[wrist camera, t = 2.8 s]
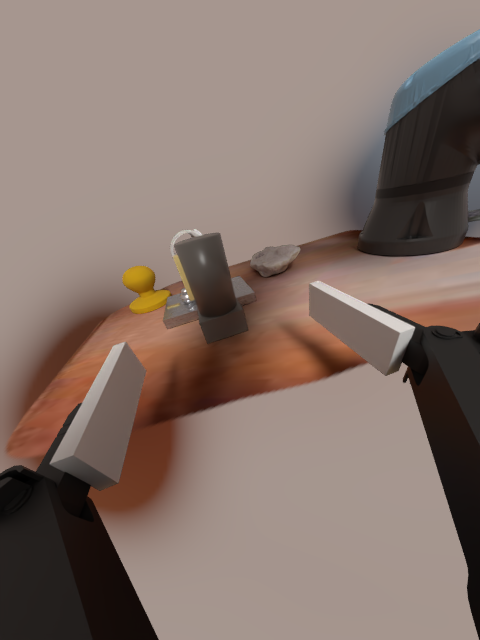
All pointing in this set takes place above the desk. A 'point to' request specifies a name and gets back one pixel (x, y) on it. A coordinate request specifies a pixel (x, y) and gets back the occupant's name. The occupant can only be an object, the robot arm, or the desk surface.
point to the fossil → (274, 259)
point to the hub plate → (186, 310)
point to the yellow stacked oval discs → (144, 290)
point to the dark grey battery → (210, 286)
